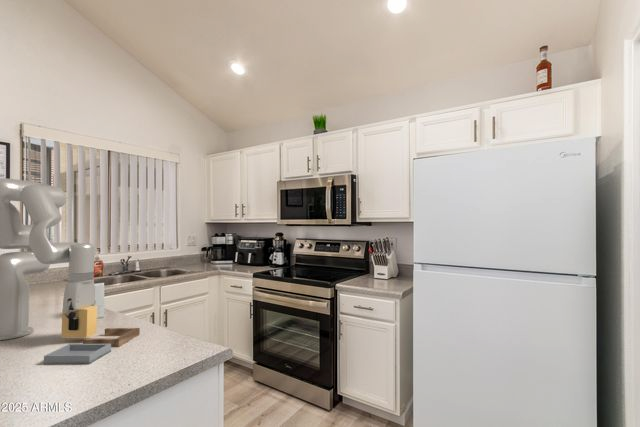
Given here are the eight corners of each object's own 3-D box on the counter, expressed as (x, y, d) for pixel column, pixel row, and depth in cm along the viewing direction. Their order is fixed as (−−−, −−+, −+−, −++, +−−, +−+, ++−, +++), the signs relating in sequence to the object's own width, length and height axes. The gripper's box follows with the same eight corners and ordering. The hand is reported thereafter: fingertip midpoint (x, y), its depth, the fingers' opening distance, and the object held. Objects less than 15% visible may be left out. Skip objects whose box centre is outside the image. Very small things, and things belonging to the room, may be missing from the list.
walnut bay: (82, 346, 110) (82, 339, 110) (106, 334, 122) (106, 328, 122) (118, 346, 110) (119, 339, 110) (139, 334, 122) (139, 327, 122)
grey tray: (43, 364, 96) (44, 355, 96) (69, 351, 106) (69, 343, 106) (89, 364, 96) (89, 355, 96) (110, 351, 106) (111, 343, 106)
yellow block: (59, 337, 114) (60, 309, 114) (70, 332, 119) (71, 305, 119) (86, 337, 114) (87, 309, 114) (96, 333, 119) (97, 305, 119)
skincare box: (104, 317, 145) (104, 284, 146) (87, 319, 142) (88, 286, 143) (104, 313, 152) (105, 281, 153) (88, 315, 149) (89, 283, 150)
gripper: (88, 273, 126) (86, 320, 125) (51, 281, 109) (49, 335, 108) (107, 273, 126) (105, 320, 125) (73, 281, 109) (71, 335, 108)
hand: (79, 326), depth 116 cm, fingers closed on yellow block, 5 cm apart
